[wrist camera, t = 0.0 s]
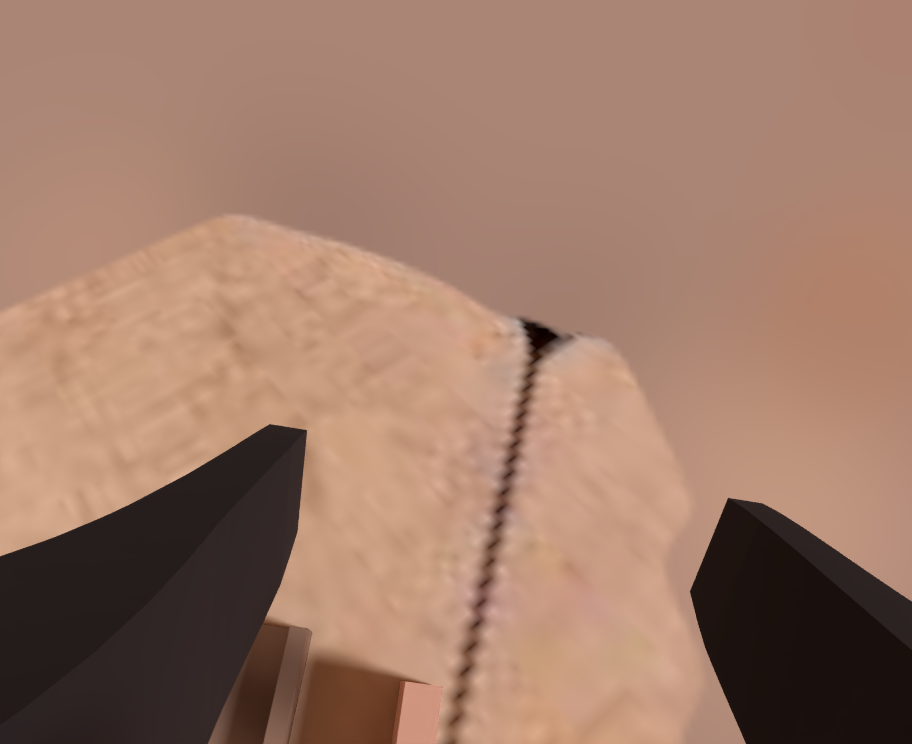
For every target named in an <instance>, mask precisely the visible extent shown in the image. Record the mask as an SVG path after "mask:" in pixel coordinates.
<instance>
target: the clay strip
mask: <svg viewBox="0 0 912 744" xmlns="http://www.w3.org/2000/svg"><path fill="white" fill-rule="evenodd" d="M442 688H443V687H442V686H435V685H427V684H420V683H413V682H406V681H401V683H400V689H399V696H398V703H397V710H396V716H395V723H394V730H393V737H392V743H391V744H436V738H437V730H438V721H439V713H440V705H441V697H442Z"/></svg>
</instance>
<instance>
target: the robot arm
mask: <svg viewBox="0 0 912 744" xmlns="http://www.w3.org/2000/svg"><path fill="white" fill-rule="evenodd" d="M306 435H307V430H302V429H296V428H290V427H284V426H278V425H271V424H270V425H268V426H266V427H264V428H263V429H261V430H259V431H258V432H256V433H254V434H253V435H251V436H250V437H248V438H246V439H245V440H243V441H242V442H240V443H238V444H237V445H235V446H234V447H232V448H230V449H229V450H227V451H226V452H224V453H222V454H221V455H219V456H217V457H216V458H214V459H212V460H211V461H209V462H207V463H206V464H204V465H202V466H200V467H199V468H197V469H195V470H194V471H192V472H190V473H189V474H187V475H185V476H183V477H181V478H179V479H177V480H176V481H174V482H172V483H170V484H168V485H166V486H164V487H162V488H160V489H159V490H157V491H155V492H153V493H151V494H149V495H147V496H145V497H143V498H141V499H140V500H138V501H136V502H134V503H132V504H130V505H128V506H126V507H124V508H121V509H119V510H117V511H115V512H113V513H111V514H108V515H106V516H104V517H102V518H100V519H97V520H95V521H93V522H90V523H88V524H85V525H83V526H81V527H78V528H76V529H73V530H71V531H69V532H66V533H64V534H61V535H59V536H56V537H54V538H51V539H49V540H46V541H43V542H40V543H37V544H35V545H32V546H29V547H26V548H23V549H20V550H17V551H14V552H11V553H9V554H6V555H3V556H0V744H208V742H209V740H210V737H211V735H212V733H213V730H214V728H215V725H216V723H217V721H218V718H219V716H220V714H221V711H222V709H223V707H224V705H225V703H226V700H227V698H228V696H229V694H230V692H231V690H232V688H233V686H234V683H235V681H236V679H237V677H238V675H239V673H240V671H241V668H242V666H243V664H244V662H245V660H246V658H247V656H248V653H249V651H250V649H251V647H252V645H253V643H254V641H255V639H256V636H257V634H258V632H259V630H260V628H261V626H262V624H263V621H264V619H265V617H266V615H267V613H268V611H269V608H270V606H271V604H272V602H273V600H274V598H275V595H276V593H277V591H278V589H279V587H280V584H281V581H282V578H283V575H284V572H285V569H286V566H287V563H288V560H289V557H290V554H291V550H292V547H293V544H294V541H295V538H296V535H297V530H298V520H299V509H300V499H301V488H302V478H303V467H304V456H305V446H306ZM690 593H691V597H692V601H693V605H694V609H695V613H696V617H697V621H698V625H699V628H700V632H701V635H702V638H703V642H704V645H705V648H706V651H707V653H708V655H709V658H710V661H711V663H712V665H713V668H714V670H715V672H716V675H717V677H718V680H719V682H720V684H721V687H722V689H723V692H724V694H725V696H726V699H727V701H728V703H729V706H730V708H731V710H732V712H733V714H734V717H735V719H736V721H737V724H738V726H739V728H740V731H741V733H742V735H743V738H744V740H745V742H746V744H912V602H911V601H910V600H908V599H907V598H905V597H904V596H902V595H901V594H899V593H898V592H896V591H895V590H893V589H892V588H890V587H889V586H888V585H886V584H884V583H883V582H882V581H880V580H879V579H877V578H876V577H874V576H873V575H871V574H870V573H868V572H867V571H865V570H864V569H863V568H861V567H860V566H858V565H857V564H855V563H854V562H852V561H851V560H850V559H848V558H847V557H845V556H843V555H842V554H841V553H839V552H838V551H837V550H835V549H833V548H832V547H831V546H829V545H828V544H826V543H825V542H823V541H822V540H821V539H819V538H818V537H816V536H815V535H813V534H812V533H810V532H809V531H807V530H806V529H804V528H803V527H801V526H800V525H798V524H797V523H795V522H793V521H792V520H790V519H789V518H787V517H786V516H784V515H782V514H781V513H779V512H777V511H776V510H774V509H772V508H770V507H768V506H766V505H764V504H762V503H756V502H749V501H743V500H737V499H731V498H728V500H727V502H726V505H725V507H724V509H723V512H722V514H721V517H720V519H719V522H718V524H717V527H716V529H715V532H714V534H713V537H712V539H711V541H710V544H709V546H708V549H707V551H706V554H705V557H704V559H703V561H702V564H701V566H700V568H699V571H698V573H697V576H696V579H695V581H694V583H693V586H692V588H691V590H690Z"/></svg>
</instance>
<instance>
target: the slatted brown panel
mask: <svg viewBox="0 0 912 744" xmlns="http://www.w3.org/2000/svg"><path fill="white" fill-rule="evenodd" d="M311 635H312V631H310V630H309V629H308V628H301V627H294V626H290V628H286V627H279V626H272V625H265V624H262V626H261V628H260V630H259V632H258V634H257V636H256V639H255V641H254V643H253V645H252V647H251V649H250V651H249V653H248V656H247V658H246V660H245V662H244V664H243V666H242V668H241V671H240V673H239V675H238V677H237V679H236V681H235V683H234V686H233V688H232V690H231V692H230V694H229V696H228V698H227V700H226V703H225V705H224V707H223V709H222V711H221V714H220V716H219V718H218V721H217V723H216V725H215V728H214V730H213V733H212V735H211V737H210V740H209V742H208V744H288V743H289V739H290V734H291V729H292V724H293V720H294V715H295V710H296V706H297V701H298V696H299V692H300V687H301V682H302V678H303V673H304V668H305V663H306V659H307V654H308V649H309V645H310V640H311Z"/></svg>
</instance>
